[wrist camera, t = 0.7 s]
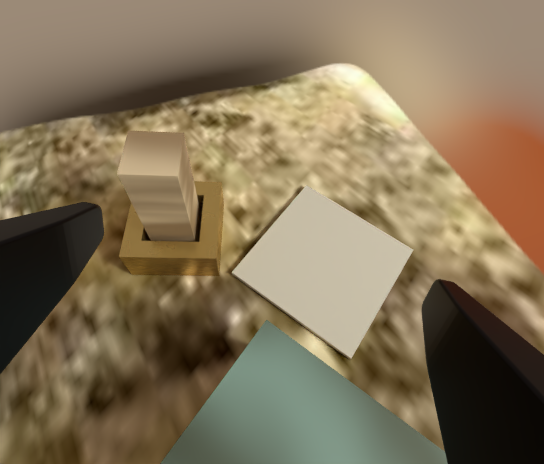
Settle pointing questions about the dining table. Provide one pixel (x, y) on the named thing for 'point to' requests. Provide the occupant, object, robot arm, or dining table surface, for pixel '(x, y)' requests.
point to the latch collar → (173, 254)
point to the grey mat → (325, 269)
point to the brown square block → (161, 185)
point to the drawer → (295, 415)
